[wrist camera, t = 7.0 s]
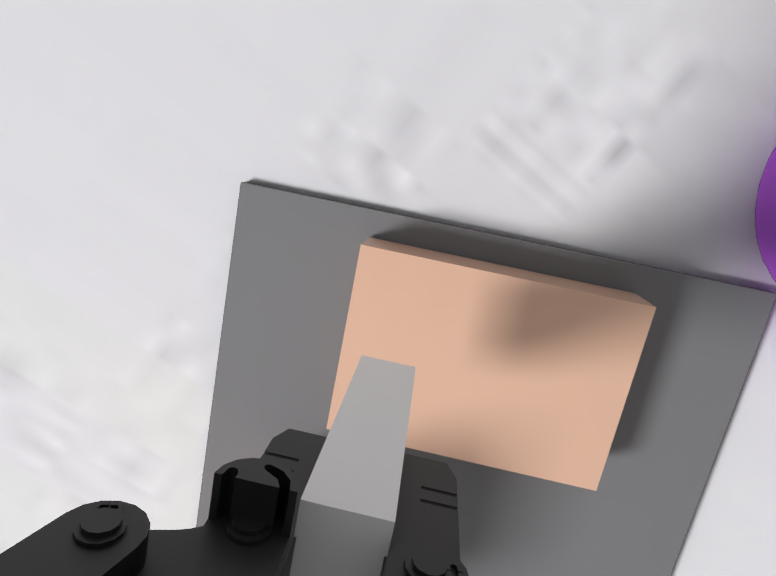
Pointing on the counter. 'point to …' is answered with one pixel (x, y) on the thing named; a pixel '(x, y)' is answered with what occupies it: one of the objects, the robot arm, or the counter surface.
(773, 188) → the figurine
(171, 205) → the counter surface
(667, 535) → the mat
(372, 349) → the tile
